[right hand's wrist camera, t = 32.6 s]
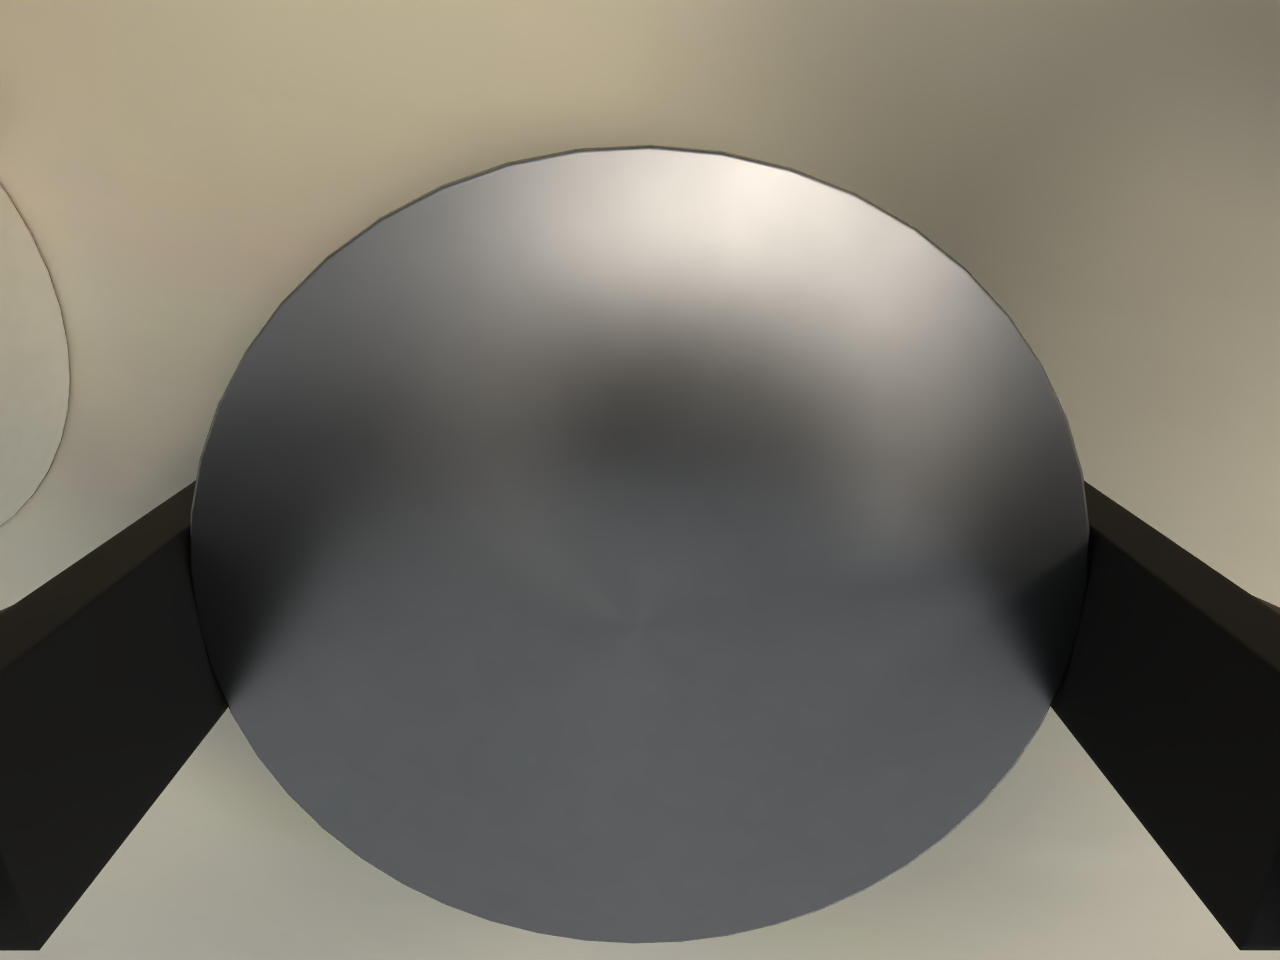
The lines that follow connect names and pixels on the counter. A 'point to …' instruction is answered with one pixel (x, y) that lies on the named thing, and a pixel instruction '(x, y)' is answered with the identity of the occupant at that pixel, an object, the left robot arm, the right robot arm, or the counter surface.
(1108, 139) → the counter surface
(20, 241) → the jar
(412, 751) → the lid
